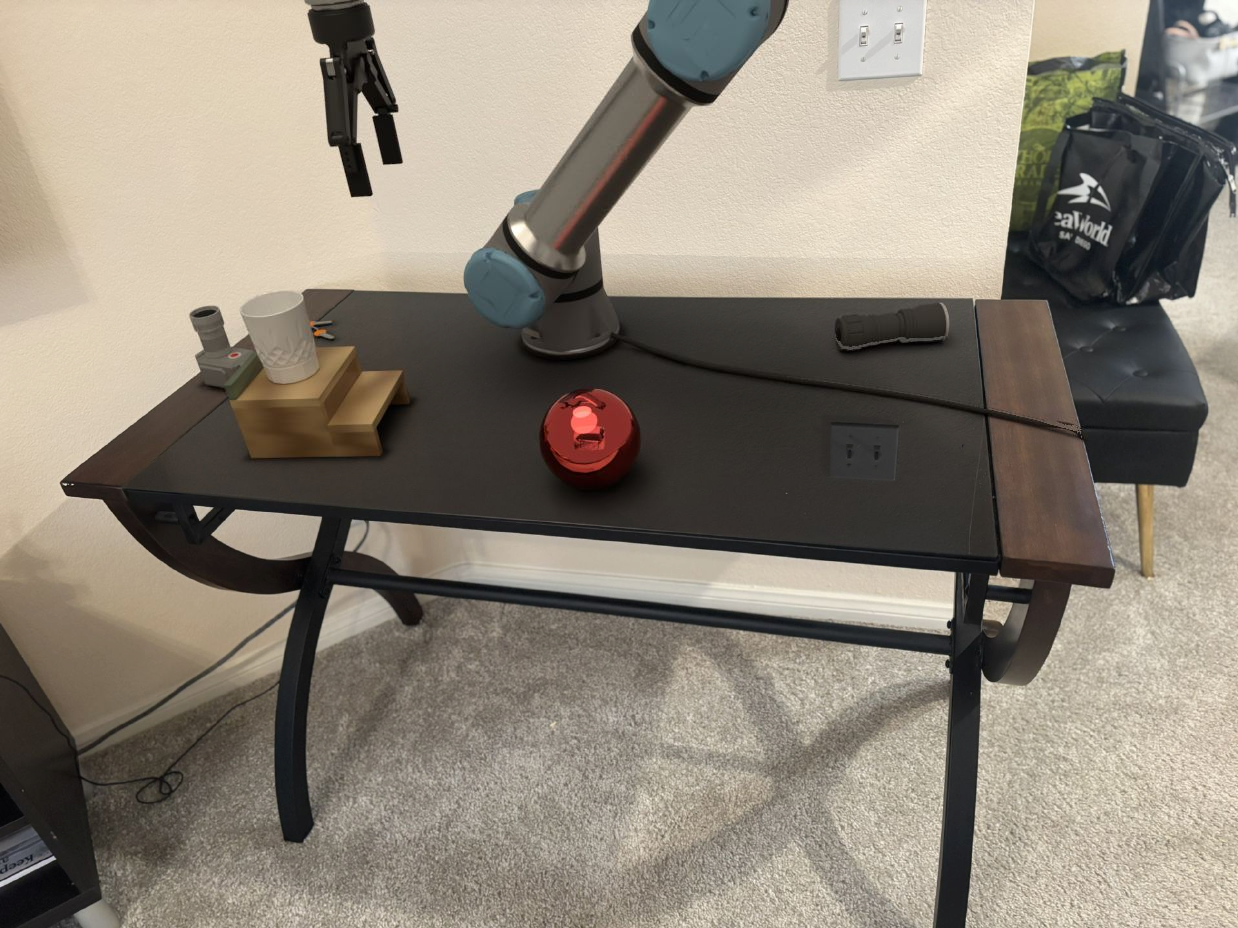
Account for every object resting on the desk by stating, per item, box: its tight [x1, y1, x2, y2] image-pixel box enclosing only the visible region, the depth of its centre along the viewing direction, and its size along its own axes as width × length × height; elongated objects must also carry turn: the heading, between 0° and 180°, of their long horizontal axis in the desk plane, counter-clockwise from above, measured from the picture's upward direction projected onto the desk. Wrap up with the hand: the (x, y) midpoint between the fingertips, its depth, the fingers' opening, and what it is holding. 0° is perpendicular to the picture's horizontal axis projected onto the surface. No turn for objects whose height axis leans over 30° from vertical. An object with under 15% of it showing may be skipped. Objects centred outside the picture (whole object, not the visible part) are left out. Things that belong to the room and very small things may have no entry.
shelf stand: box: [223, 345, 411, 459], centre depth 122 cm, size 18×14×11 cm
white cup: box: [239, 289, 319, 384], centre depth 118 cm, size 8×8×10 cm
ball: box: [538, 387, 642, 491], centre depth 107 cm, size 12×12×12 cm
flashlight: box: [834, 302, 950, 353], centre depth 130 cm, size 15×5×5 cm, turn 95°
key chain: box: [309, 320, 335, 340], centre depth 151 cm, size 13×7×1 cm, turn 84°
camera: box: [188, 305, 255, 389], centre depth 135 cm, size 9×12×15 cm
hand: (378, 179), depth 122 cm, fingers open, 13 cm apart
